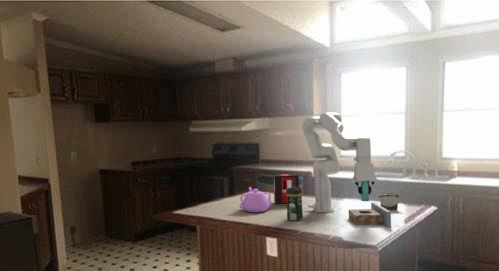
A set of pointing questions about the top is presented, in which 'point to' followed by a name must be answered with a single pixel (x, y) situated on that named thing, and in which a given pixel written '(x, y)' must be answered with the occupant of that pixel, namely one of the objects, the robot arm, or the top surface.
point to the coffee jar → (294, 203)
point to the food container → (389, 200)
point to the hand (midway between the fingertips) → (364, 193)
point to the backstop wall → (383, 211)
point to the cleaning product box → (284, 186)
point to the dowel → (365, 191)
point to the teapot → (255, 201)
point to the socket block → (365, 217)
